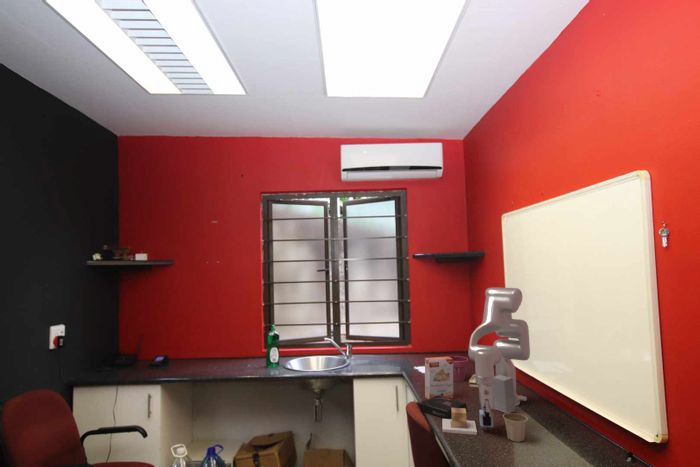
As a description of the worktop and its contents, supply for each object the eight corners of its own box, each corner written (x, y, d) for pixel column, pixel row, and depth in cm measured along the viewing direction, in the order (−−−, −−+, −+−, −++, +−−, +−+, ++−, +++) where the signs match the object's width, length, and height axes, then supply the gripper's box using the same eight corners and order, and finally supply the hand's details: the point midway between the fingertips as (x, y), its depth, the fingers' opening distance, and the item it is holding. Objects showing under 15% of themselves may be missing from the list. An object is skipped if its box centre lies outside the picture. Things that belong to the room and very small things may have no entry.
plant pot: (469, 383, 245) (469, 361, 246) (445, 382, 248) (445, 360, 249) (468, 376, 259) (467, 356, 260) (444, 375, 262) (444, 355, 263)
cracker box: (429, 401, 214) (429, 360, 215) (424, 397, 219) (424, 357, 221) (454, 399, 217) (453, 358, 219) (448, 395, 223) (447, 355, 225)
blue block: (491, 422, 178) (491, 410, 178) (493, 427, 173) (492, 414, 173) (479, 421, 179) (479, 409, 179) (480, 426, 174) (480, 414, 175)
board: (474, 423, 184) (474, 420, 184) (477, 434, 172) (477, 431, 172) (442, 421, 187) (442, 418, 187) (442, 432, 175) (442, 428, 175)
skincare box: (516, 411, 198) (514, 377, 199) (505, 414, 195) (504, 380, 196) (501, 406, 206) (500, 373, 207) (491, 409, 202) (490, 375, 203)
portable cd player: (466, 411, 200) (466, 403, 201) (447, 420, 189) (446, 411, 189) (438, 403, 212) (437, 395, 213) (417, 411, 201) (417, 403, 201)
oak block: (465, 422, 182) (465, 408, 182) (466, 427, 176) (466, 413, 177) (451, 421, 183) (451, 407, 184) (452, 426, 177) (451, 412, 178)
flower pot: (522, 433, 173) (521, 412, 174) (532, 443, 164) (531, 421, 164) (499, 434, 173) (499, 413, 173) (509, 444, 163) (508, 421, 164)
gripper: (496, 386, 168) (498, 432, 167) (491, 373, 185) (493, 415, 184) (477, 385, 169) (478, 430, 169) (474, 373, 186) (475, 414, 185)
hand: (486, 422), depth 176 cm, fingers closed on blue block, 5 cm apart
